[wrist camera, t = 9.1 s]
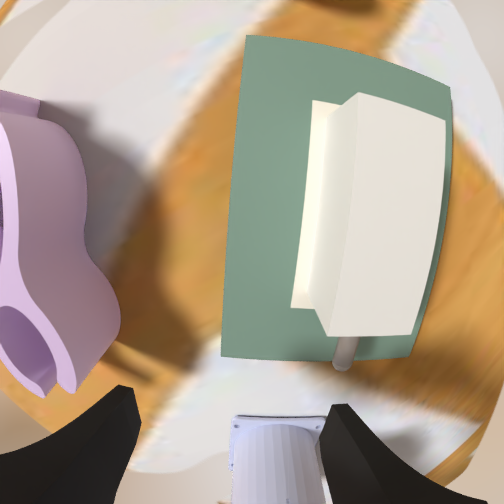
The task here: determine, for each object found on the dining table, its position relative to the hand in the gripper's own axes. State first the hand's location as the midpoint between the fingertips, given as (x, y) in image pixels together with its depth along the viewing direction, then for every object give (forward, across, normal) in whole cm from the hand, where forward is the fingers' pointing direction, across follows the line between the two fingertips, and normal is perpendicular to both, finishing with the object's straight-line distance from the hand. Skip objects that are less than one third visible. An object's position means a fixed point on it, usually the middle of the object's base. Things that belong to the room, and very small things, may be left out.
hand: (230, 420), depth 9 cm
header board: (+9, -6, -7) cm, 13 cm away
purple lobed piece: (+10, +16, -4) cm, 19 cm away
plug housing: (+8, -6, -5) cm, 11 cm away
